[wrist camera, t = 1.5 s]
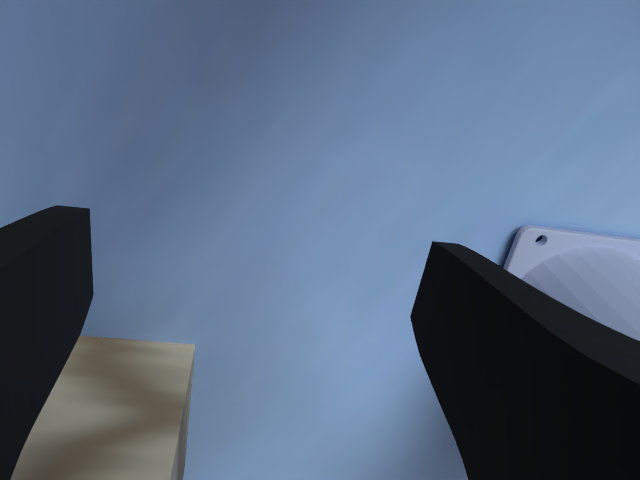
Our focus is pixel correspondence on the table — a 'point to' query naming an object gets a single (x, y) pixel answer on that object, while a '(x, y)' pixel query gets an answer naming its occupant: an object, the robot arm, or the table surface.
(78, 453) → the ash block
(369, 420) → the table surface
